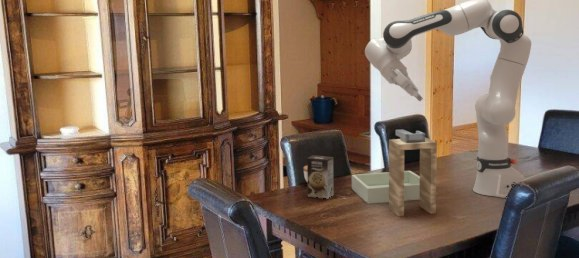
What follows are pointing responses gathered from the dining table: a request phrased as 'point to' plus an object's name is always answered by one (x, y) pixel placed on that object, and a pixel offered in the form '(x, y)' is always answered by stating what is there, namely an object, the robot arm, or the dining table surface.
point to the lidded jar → (306, 173)
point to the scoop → (410, 136)
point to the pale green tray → (384, 186)
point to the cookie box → (320, 176)
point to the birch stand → (426, 174)
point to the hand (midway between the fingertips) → (418, 97)
